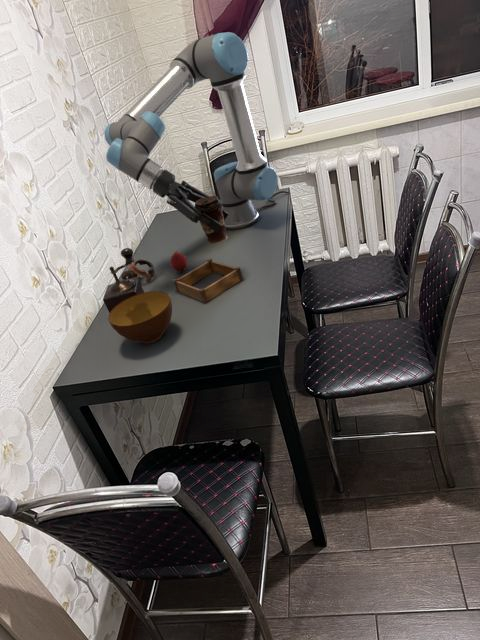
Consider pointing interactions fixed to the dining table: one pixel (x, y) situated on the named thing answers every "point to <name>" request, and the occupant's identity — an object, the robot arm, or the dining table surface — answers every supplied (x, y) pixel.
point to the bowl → (142, 316)
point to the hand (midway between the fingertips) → (223, 222)
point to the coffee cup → (214, 210)
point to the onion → (178, 262)
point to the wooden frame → (214, 289)
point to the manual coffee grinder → (122, 284)
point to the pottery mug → (139, 271)
